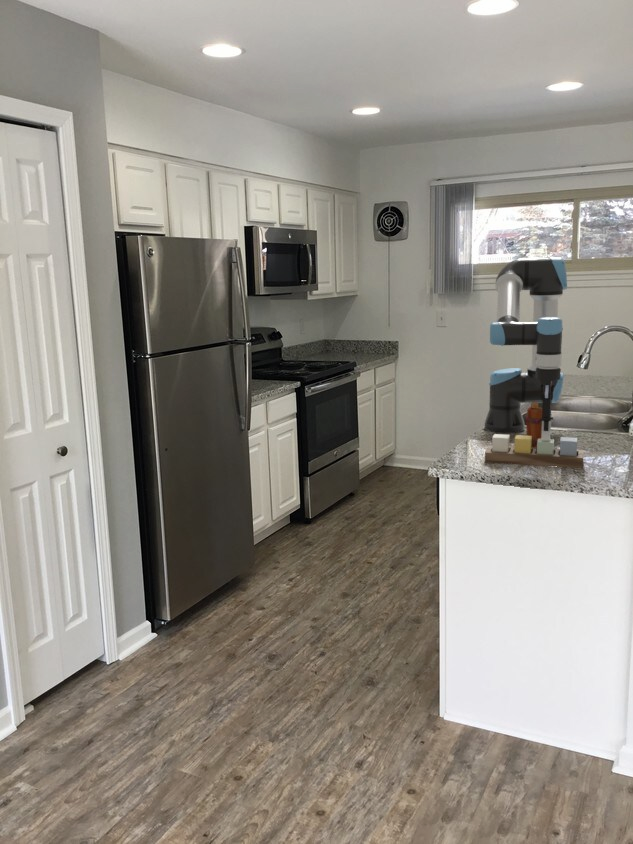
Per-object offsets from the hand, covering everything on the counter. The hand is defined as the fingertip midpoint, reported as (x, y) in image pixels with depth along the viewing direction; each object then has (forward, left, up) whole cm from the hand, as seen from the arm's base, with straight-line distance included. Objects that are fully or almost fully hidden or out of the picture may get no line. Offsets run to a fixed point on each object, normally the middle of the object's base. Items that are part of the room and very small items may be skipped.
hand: (545, 440), depth 232 cm
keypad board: (0, -4, -7) cm, 8 cm away
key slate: (0, +7, -4) cm, 8 cm away
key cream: (0, -14, -4) cm, 15 cm away
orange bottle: (-20, -5, -8) cm, 22 cm away
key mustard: (0, -7, -4) cm, 8 cm away
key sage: (0, 0, -5) cm, 5 cm away
